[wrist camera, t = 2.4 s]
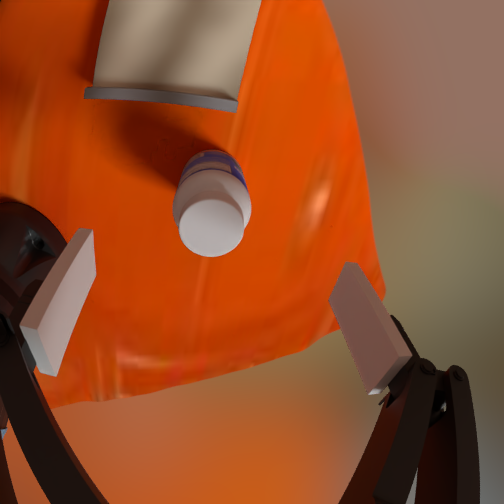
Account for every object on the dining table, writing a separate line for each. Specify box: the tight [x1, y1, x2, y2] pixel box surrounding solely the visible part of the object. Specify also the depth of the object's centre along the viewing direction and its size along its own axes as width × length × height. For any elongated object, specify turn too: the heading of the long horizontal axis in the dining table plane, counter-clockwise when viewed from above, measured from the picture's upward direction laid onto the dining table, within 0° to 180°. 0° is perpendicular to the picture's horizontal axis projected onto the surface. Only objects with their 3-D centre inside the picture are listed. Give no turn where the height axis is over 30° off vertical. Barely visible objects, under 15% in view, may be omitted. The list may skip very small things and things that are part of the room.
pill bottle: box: [173, 150, 251, 257], centre depth 22 cm, size 5×5×10 cm
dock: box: [84, 0, 261, 113], centre depth 17 cm, size 11×11×4 cm
